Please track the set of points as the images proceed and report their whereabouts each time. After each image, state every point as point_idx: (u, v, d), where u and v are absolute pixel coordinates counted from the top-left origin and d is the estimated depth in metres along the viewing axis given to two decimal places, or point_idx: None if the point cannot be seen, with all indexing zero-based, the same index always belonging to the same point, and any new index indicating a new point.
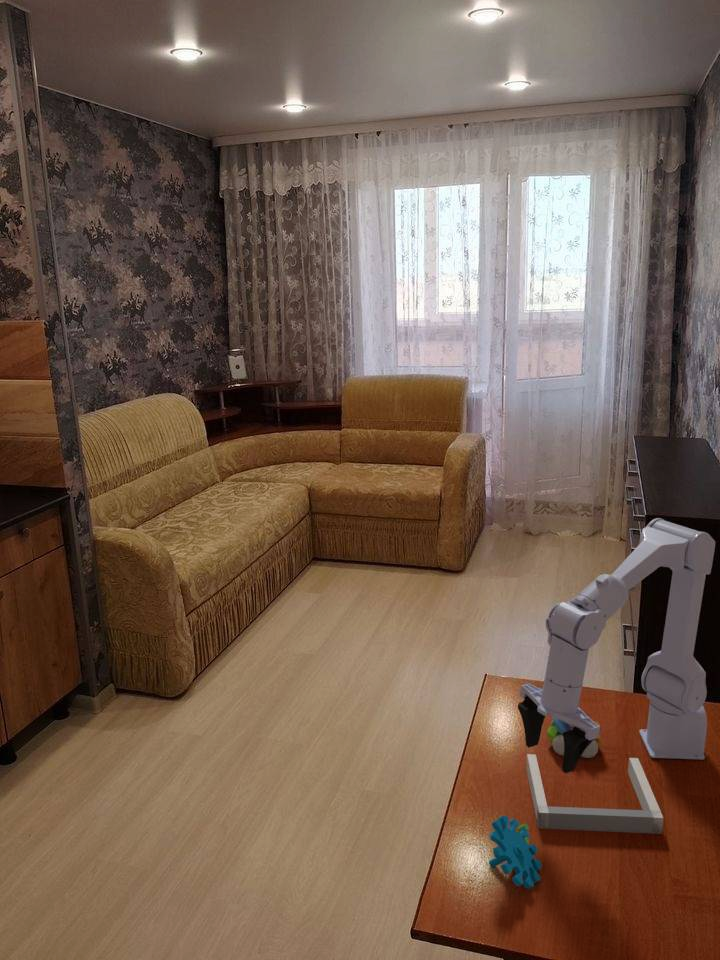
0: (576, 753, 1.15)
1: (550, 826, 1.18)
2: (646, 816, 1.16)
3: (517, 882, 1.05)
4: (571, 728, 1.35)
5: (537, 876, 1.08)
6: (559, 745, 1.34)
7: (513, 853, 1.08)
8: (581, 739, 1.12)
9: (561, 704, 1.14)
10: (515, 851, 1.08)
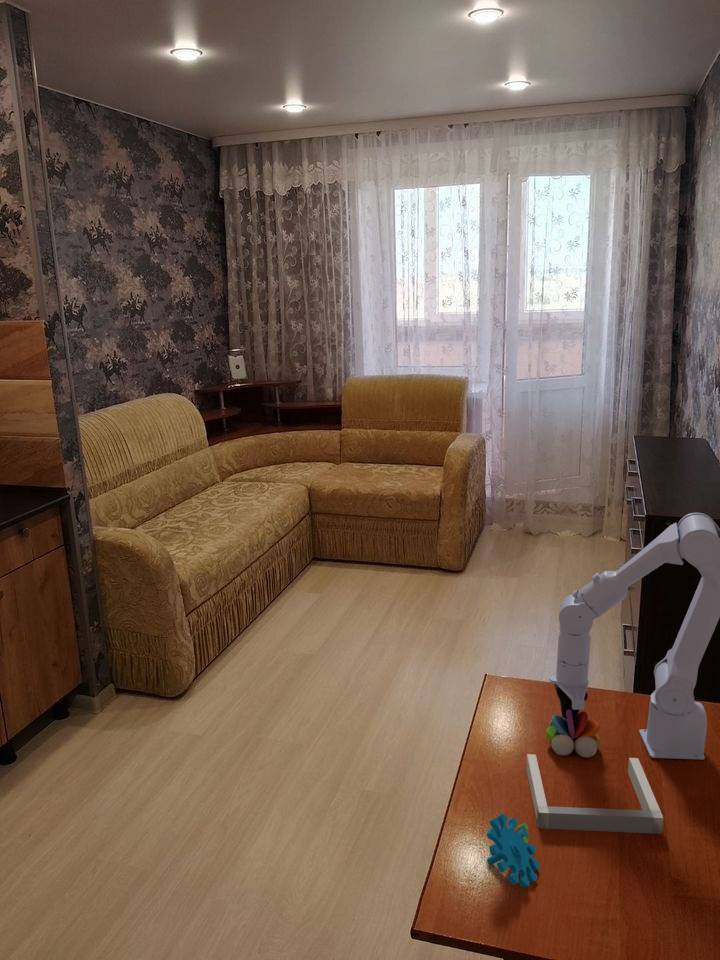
0: (573, 709, 1.41)
1: (550, 826, 1.18)
2: (646, 816, 1.16)
3: (512, 880, 1.05)
4: (570, 728, 1.35)
5: (534, 876, 1.08)
6: (558, 745, 1.34)
7: (510, 852, 1.08)
8: (565, 696, 1.38)
9: (562, 676, 1.38)
10: (512, 850, 1.08)
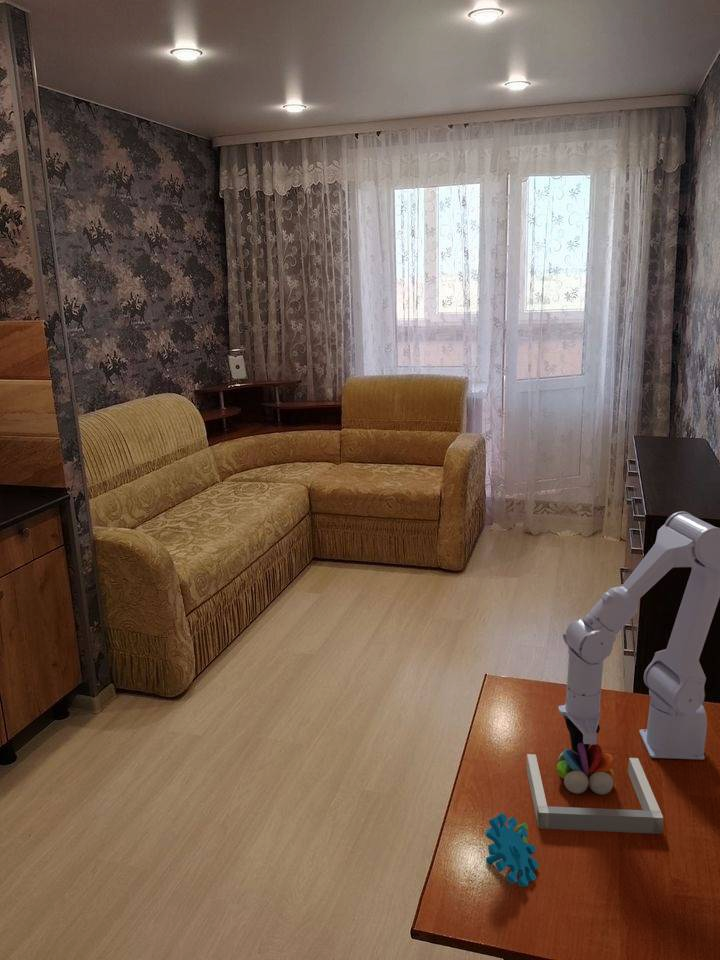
0: (584, 741, 1.32)
1: (550, 826, 1.18)
2: (646, 816, 1.16)
3: (511, 880, 1.05)
4: (584, 763, 1.25)
5: (532, 875, 1.08)
6: (572, 783, 1.24)
7: (509, 851, 1.08)
8: (575, 728, 1.29)
9: (572, 707, 1.29)
10: (511, 849, 1.08)
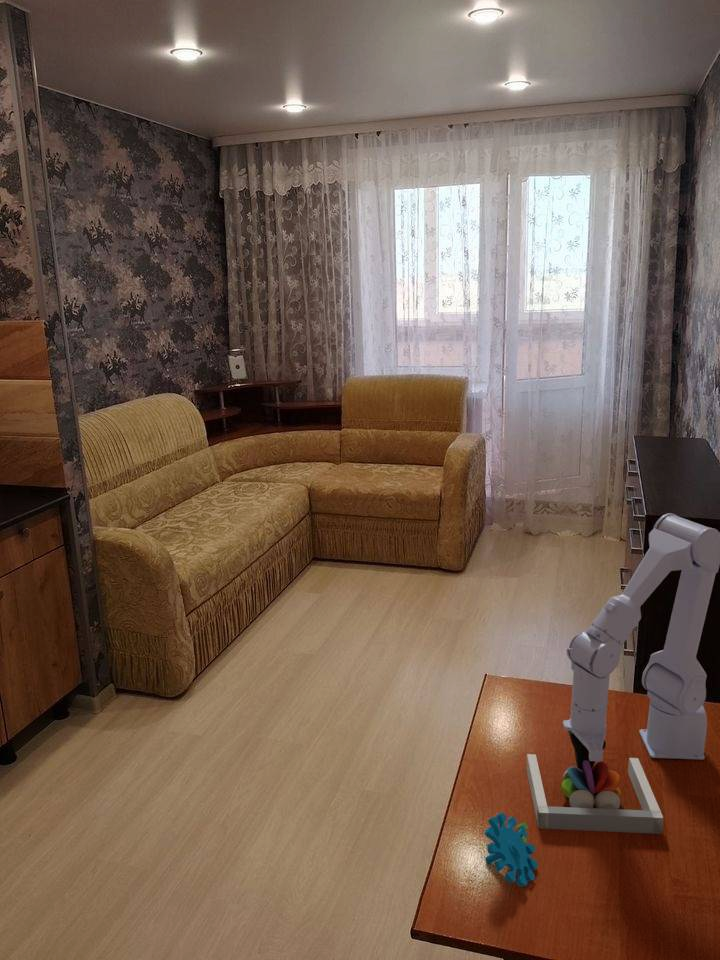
0: None
1: (550, 826, 1.18)
2: (646, 816, 1.16)
3: (509, 879, 1.05)
4: (590, 782, 1.21)
5: (531, 875, 1.08)
6: (578, 802, 1.20)
7: (508, 851, 1.08)
8: (580, 744, 1.25)
9: (577, 722, 1.24)
10: (510, 848, 1.09)
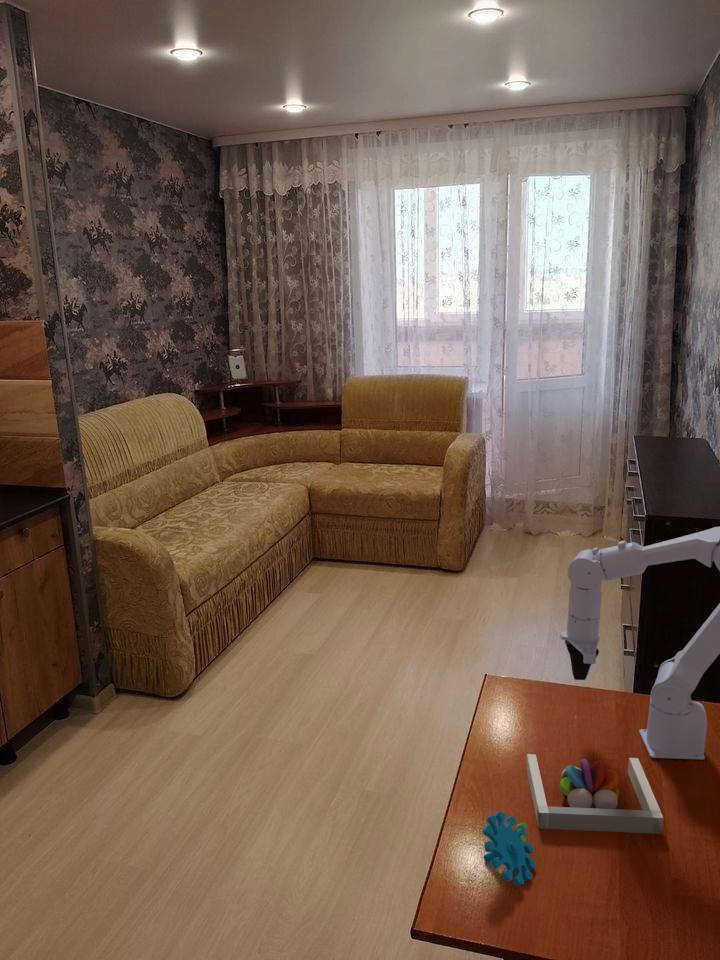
0: (584, 665, 1.41)
1: (550, 826, 1.18)
2: (646, 816, 1.16)
3: (506, 878, 1.06)
4: (588, 781, 1.21)
5: (529, 875, 1.08)
6: (576, 801, 1.20)
7: (505, 850, 1.08)
8: (576, 652, 1.38)
9: (573, 632, 1.38)
10: (507, 847, 1.09)
